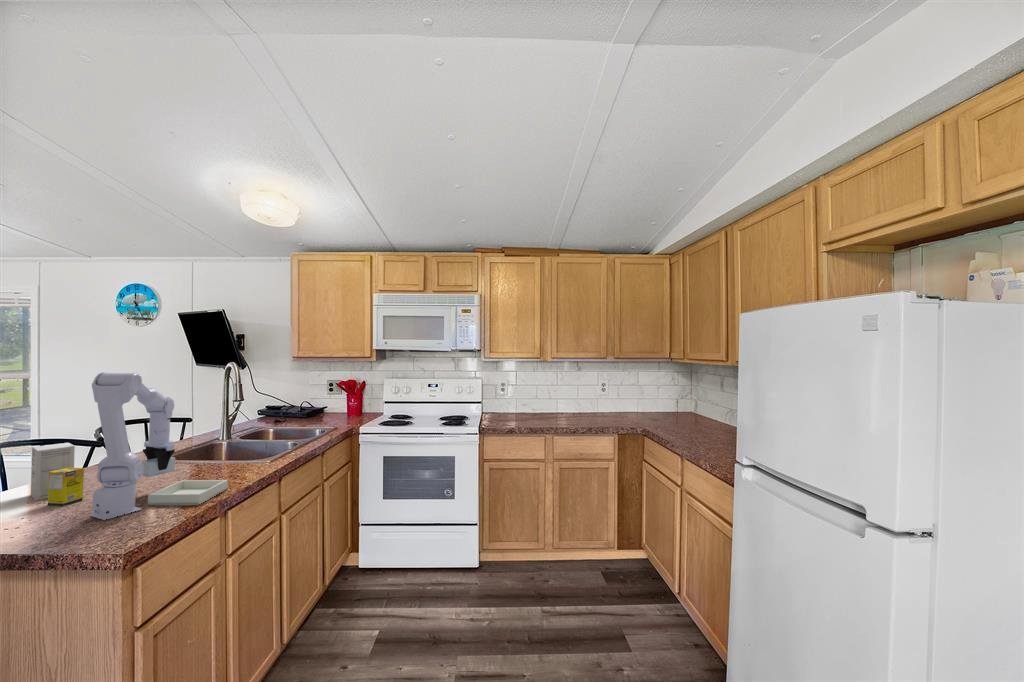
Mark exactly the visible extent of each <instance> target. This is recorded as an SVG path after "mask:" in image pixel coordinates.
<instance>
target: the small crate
mask: <svg viewBox="0 0 1024 682" xmlns="http://www.w3.org/2000/svg"><path fill="white" fill-rule="evenodd" d="M141 462H142V464H143V465H144V473H143V476H142V477H147V478H151V477H155V476H160V475H165V474H168V473H169V474H170V473H173V472H175V470H176V457H173V456H171V458H170V460H169V463H168V466H167V469H164V470H159V469H158V461H157V458H155V459H149V460H147V459H145V460H141Z"/></svg>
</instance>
